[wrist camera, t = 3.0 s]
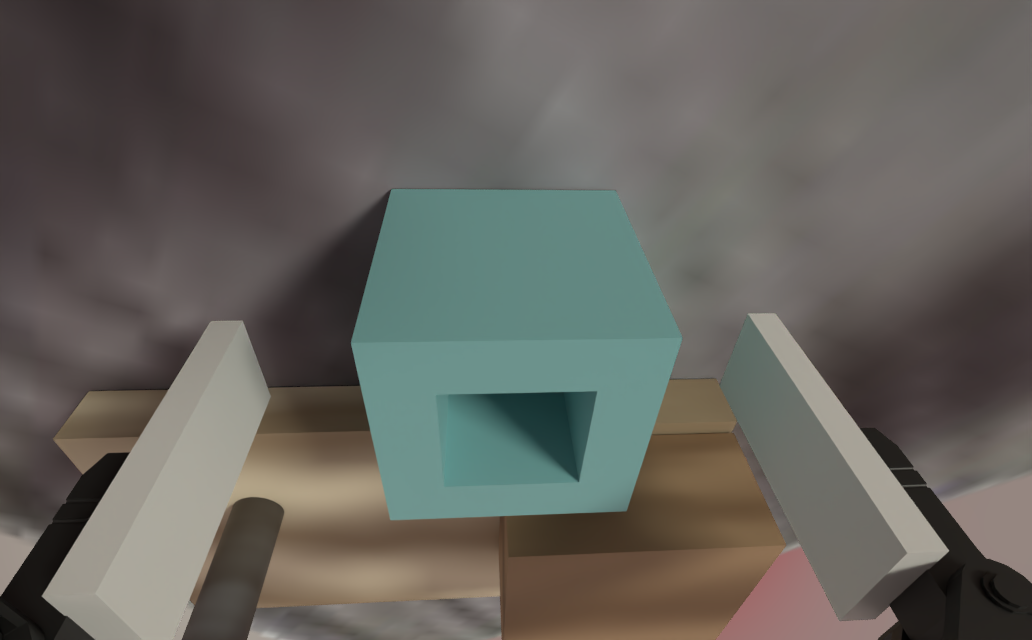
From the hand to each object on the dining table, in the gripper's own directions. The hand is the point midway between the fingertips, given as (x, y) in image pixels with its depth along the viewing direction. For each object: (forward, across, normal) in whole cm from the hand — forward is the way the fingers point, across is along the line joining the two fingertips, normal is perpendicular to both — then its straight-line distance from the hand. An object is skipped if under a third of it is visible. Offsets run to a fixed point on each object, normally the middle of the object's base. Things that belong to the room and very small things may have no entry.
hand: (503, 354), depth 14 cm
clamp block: (+1, +4, -8) cm, 9 cm away
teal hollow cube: (+3, 0, +1) cm, 3 cm away
